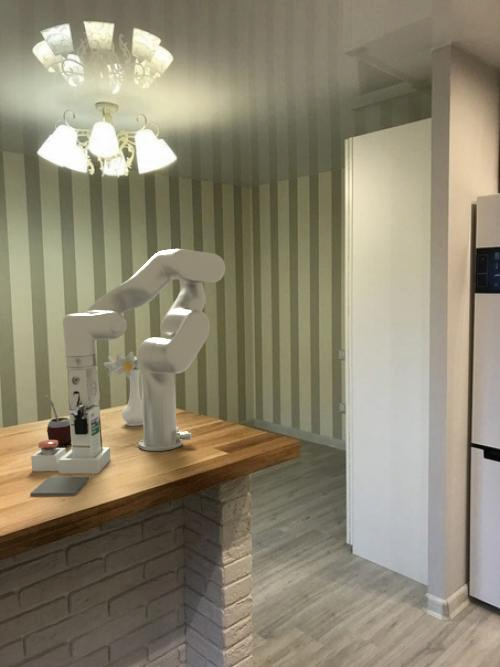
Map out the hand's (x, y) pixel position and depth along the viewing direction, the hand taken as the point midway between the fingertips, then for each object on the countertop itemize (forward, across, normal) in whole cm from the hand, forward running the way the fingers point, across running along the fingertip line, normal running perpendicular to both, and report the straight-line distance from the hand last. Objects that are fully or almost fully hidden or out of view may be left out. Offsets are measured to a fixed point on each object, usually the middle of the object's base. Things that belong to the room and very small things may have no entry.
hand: (86, 429), depth 136 cm
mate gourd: (+10, +17, +15) cm, 25 cm away
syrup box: (+9, 0, 0) cm, 9 cm away
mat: (+9, -15, +2) cm, 18 cm away
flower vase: (+11, +41, -1) cm, 43 cm away
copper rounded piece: (+9, -1, +10) cm, 13 cm away
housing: (+10, -1, +4) cm, 11 cm away
